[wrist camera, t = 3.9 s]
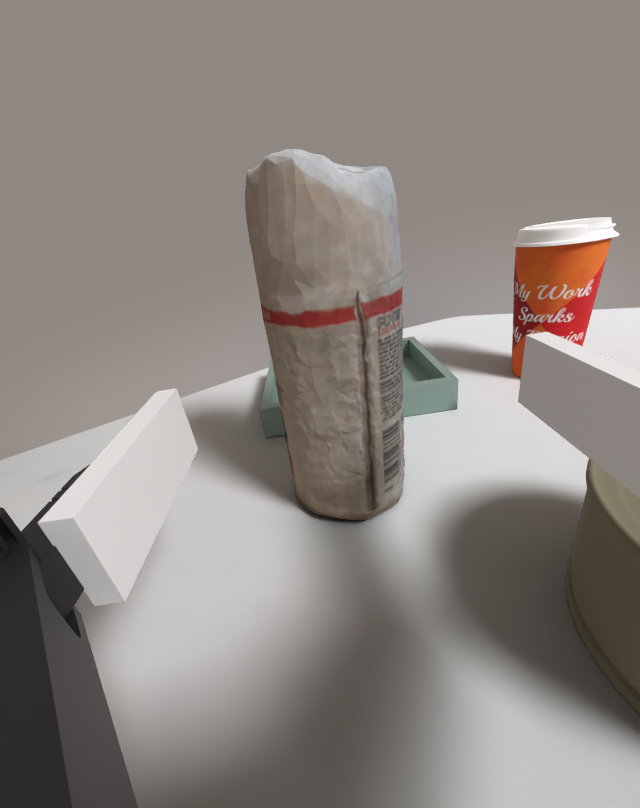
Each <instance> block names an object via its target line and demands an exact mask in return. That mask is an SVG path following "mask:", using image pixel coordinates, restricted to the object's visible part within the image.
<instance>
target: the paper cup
mask: <svg viewBox="0 0 640 808" xmlns="http://www.w3.org/2000/svg"><path fill="white" fill-rule="evenodd" d="M615 225H616V224H613V223H612V221H611V217H601V218H587V219H577V220H567V221H559V222H552V223H545V224H539V225H533V226H529V227H525V228H523V229H520V230H519V232H518V236H517V241H515V242H514V243H513V246H515V247H516V256H515V273H514V313H513V344H512V371H513V373H514V374H515V375H516V376H518V377H520V378H521V373H522V365H523V357H524V348H525V340H526V335H529V334H535V333H542V332H549V333H551V334H554V335H556V336H559V337H561V338H564V339H566V340H568V341H571V342H573V343H576V344H578V345H580V346H583V342H584V338H585V335H586V331H587V327H588V324H589V320H590V316H591V313H592V309H593V305H594V301H595V297H596V294H597V290H598V286H599V283H600V279H601V275H602V271H603V267H604V264H605V260H606V256H607V253H608V249H609V245H610V241H611V238H612V237H616V236H618V235H619V233H616V231H613V226H615Z"/></svg>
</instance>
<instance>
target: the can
mask: <svg viewBox="0 0 640 808" xmlns="http://www.w3.org/2000/svg"><path fill="white" fill-rule="evenodd" d="M586 483H587V491H586V495H585V500H584V504H583V509H582V513H581V518H580V522H579V526H578V530H577V534H576V539H575V543H574V547H573V553H572V557H571V560H570V563H569V566H568V570H567V577H566V593H567V600H568V605H569V608H570V612H571V615H572V618H573V620H574V623H575V626H576V628H577V630H578V632H579V634H580V636H581V638H582V640H583V642H584V644H585V645H586V647H587V649H588V651H589V652H590V654H591V656H592V657H593V659H594V660H595V661H596V663H597V664H598V666H599V667H600V669H601V670H602V672H603V673H604V674H605V675H606V677H607V678H608V679H609V680H610V682H611V683H612V684H613V686H614V687H615V688H616V689H617V690H618V692H619V693H620V694H621V695H622V696H623V697H624V698H625V699H626V701H627V702H628V703H629V704H630V705H631V706H632V707H633V708H634V709H635V710H636V711H637V712H638V713H639V714H640V498H639V497H637V496H636V495H635V494H634V493H632V492H631V491H630V490H629V489H627V488H626V487H625V486H624V485H622V484H621V483H620V482H619V481H617V480H616V479H615V478H613V477H612V476H611V475H610V474H608V473H607V472H606V471H605V470H603V469H602V468H601V467H600V466H598V465H597V464H596V463H595V462H593V461H592V460H591V459H590V458H589V461H588V464H587V471H586Z"/></svg>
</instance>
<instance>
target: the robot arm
mask: <svg viewBox="0 0 640 808" xmlns="http://www.w3.org/2000/svg"><path fill="white" fill-rule="evenodd" d="M518 402H519V403H521V404H522V405H523V406H524V407H526V408H527V409H528V410H529V411H531V412H532V413H533V414H534V415H536V416H537V417H538V418H539V419H541V420H542V421H543V422H544V423H546V424H547V425H548V426H549V427H551V428H552V429H553V430H555V431H556V432H557V433H558V434H560V435H561V436H562V437H563V438H565V439H566V440H567V441H568V442H570V443H571V444H572V445H573V446H575V447H576V448H577V449H578V450H580V451H581V452H582V453H583V454H585V455H586V456H587V457H588V458H590V459H591V460H592V461H593V462H595V463H596V464H597V465H598V466H600V467H601V468H602V469H603V470H605V471H606V472H607V473H608V474H610V475H611V476H612V477H613V478H615V479H616V480H617V481H619V482H620V483H621V484H622V485H624V486H625V487H626V488H627V489H629V490H630V491H631V492H632V493H634V494H635V495H636V496H637V497H639V498H640V370H638V369H636V368H633V367H631V366H628V365H626V364H624V363H621V362H619V361H616V360H614V359H612V358H609V357H607V356H604V355H602V354H600V353H597V352H595V351H592V350H590V349H588V348H585V347H583V346H580V345H578V344H576V343H573V342H571V341H568V340H566V339H564V338H561V337H559V336H556V335H554V334H551V333H549V332H542V333H535V334H529V335H526V340H525V348H524V357H523V365H522V373H521V382H520V390H519V398H518ZM197 451H198V447H197V444H196V441H195V438H194V436H193V433H192V430H191V427H190V425H189V422H188V419H187V416H186V414H185V411H184V408H183V405H182V403H181V400H180V397H179V394H178V392H177V389H170V390H164V391H157V392H156V393H155V394H154V395H153V396H152V397H151V398H150V399H149V400H148V402H147V403H146V404H145V405H144V406H143V407H142V408H141V409H140V410H139V411H138V413H137V414H136V415H135V416H134V417H133V418H132V419H131V420H130V421H129V423H128V424H127V425H126V426H125V427H124V428H123V429H122V430H121V431H120V432H119V434H118V435H117V436H116V437H115V438H114V439H113V440H112V441H111V442H110V443H109V445H108V446H107V447H106V448H105V449H104V450H103V451H102V452H101V453H100V454H99V456H98V457H97V458H96V459H95V460H94V461H93V462H92V463H91V464H90V465H88V466H87V467H85V468H84V469H83V470H81V471H80V472H78V473H77V474H75V475H74V476H73V477H72V478H71V479H70V480H69V481H68V482H67V483H66V484H65V485H64V486H63V487H62V490H61V491H59V492H58V493H57V494H56V495H55V496H54V497H53V498H52V502H48V504H47V505H46V506H45V507H44V508H43V509H42V510H41V511H40V512H39V513H38V514H37V515H36V516H35V517H34V518H33V520H32V521H31V522H30V523H29V524H28V525H27V526H26V527H25V528H24V529H23V530H22V531H21V532H20V530H19V529H18V527H17V526H16V525H15V523H14V522H13V520H12V519H11V518H10V516H9V515H8V514H7V512H6V511H5V510H4V509H3V508H0V808H138V807H137V803H136V800H135V796H134V793H133V790H132V786H131V783H130V779H129V776H128V773H127V769H126V766H125V763H124V759H123V756H122V752H121V749H120V746H119V742H118V739H117V735H116V732H115V729H114V725H113V722H112V718H111V715H110V712H109V708H108V705H107V701H106V698H105V695H104V691H103V688H102V685H101V681H100V678H99V674H98V671H97V668H96V664H95V661H94V657H93V654H92V651H91V647H90V644H89V640H88V637H87V634H86V630H85V627H84V623H83V620H82V617H81V614H80V613H79V611H78V610H77V609H76V607H75V606H74V605H75V603H76V602H77V600H78V599H79V597H80V595H81V594H82V592H83V590H84V592H85V593H86V594H87V596H88V597H89V599H90V600H91V602H92V603H93V605H94V606H99V605H106V604H113V603H121V602H125V601H126V599H127V597H128V595H129V593H130V591H131V589H132V587H133V585H134V582H135V580H136V578H137V576H138V574H139V572H140V570H141V568H142V566H143V564H144V562H145V559H146V557H147V555H148V553H149V551H150V549H151V547H152V545H153V543H154V541H155V539H156V536H157V534H158V532H159V530H160V528H161V526H162V524H163V522H164V520H165V518H166V516H167V513H168V511H169V509H170V507H171V505H172V503H173V501H174V499H175V497H176V495H177V493H178V490H179V488H180V486H181V484H182V482H183V480H184V478H185V476H186V474H187V472H188V470H189V467H190V465H191V463H192V461H193V459H194V457H195V455H196V453H197Z"/></svg>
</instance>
